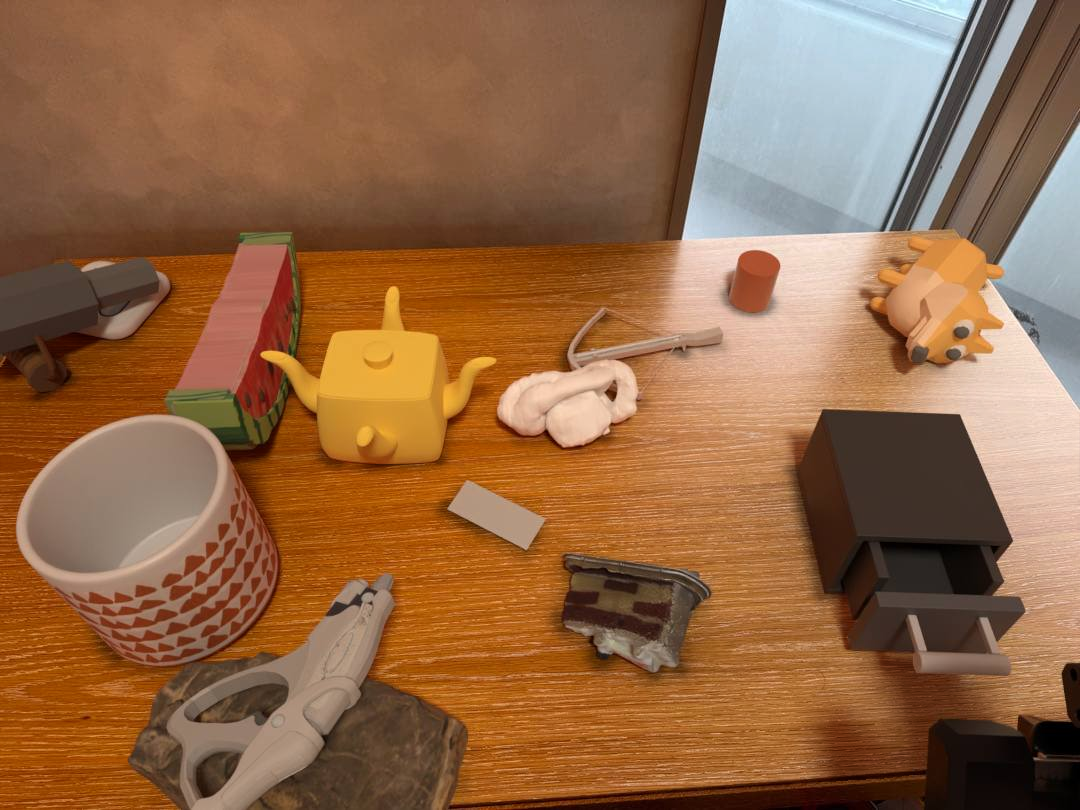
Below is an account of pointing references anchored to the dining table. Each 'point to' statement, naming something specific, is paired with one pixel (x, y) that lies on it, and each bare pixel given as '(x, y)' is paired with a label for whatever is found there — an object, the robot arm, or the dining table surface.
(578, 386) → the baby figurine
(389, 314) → the teapot
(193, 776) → the gun
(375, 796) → the stone
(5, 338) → the mechanical component
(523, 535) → the grey rectangular card
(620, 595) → the chocolate cake
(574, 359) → the crossbow
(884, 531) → the dark brown hollow box
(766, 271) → the orange cylinder
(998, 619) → the drawer
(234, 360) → the fruit slice
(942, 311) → the dog
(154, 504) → the vase
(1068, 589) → the dining table surface
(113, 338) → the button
